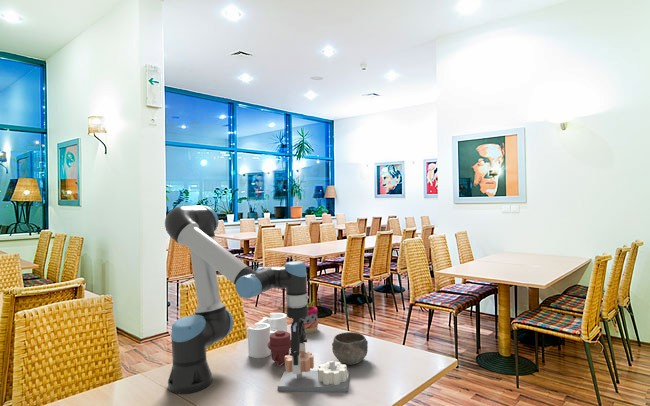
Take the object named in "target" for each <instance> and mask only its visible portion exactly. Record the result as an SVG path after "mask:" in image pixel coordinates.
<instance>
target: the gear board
mask: <svg viewBox="0 0 650 406" xmlns="http://www.w3.org/2000/svg"><path fill="white" fill-rule="evenodd" d="M328 362H329V368H330V369H331V370H333V369H335V362H336V361H335V360H330V361H328ZM349 378H350V371H349V370H347V380H346V381H345V382H341V383H340V384H339V385H334V384H329V385H325V384H323V381H322V382H319V380H318V370H311V369H310V371H309V372H301V374H293V372H287V371H286V369H285V370H284V372H283V374H282V376H281V379H280V380H279V382H278V385H277V391H278V392H279V391H280V392H281V391H284V392H285V391H286V392H326V393H327V392H328V393H329V392H331V393H332V392H333V393H348V388H349V381H350V380H349Z"/></svg>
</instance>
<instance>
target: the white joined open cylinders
mask: <svg viewBox="0 0 650 406" xmlns="http://www.w3.org/2000/svg"><path fill="white" fill-rule="evenodd" d="M287 318H288V317H287V313H285V312H269V317H265V316H264V317H262V319H261V320H259V321H257V322H255V323H254V328H253V327H251V326H250V327H247V349H248V350H247V352H248V353H247V354H248V357H251V358H253V359H263V358H267V357H270V356H271V355H272V350H270V349H269V348H268V342H269V341H270V334H272V333H274V332H276V331H284V332H288V324H287V320H288V319H287Z"/></svg>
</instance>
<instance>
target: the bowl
mask: <svg viewBox="0 0 650 406" xmlns="http://www.w3.org/2000/svg"><path fill="white" fill-rule="evenodd" d="M368 344H369V342H368V340H367V338H366V337H365V335H364V334H362V333H359V332H352V331H351V332H350V331H349V332H347V331H346V332H341V333H338V334H336V335H335V336H334V337H333V340H332V343H331V346H332V347H331V348H332V353H333V355H334V357H335V358H336V359H337V360H338V362H341V364H342V365H344V364H345V365H346V366H349V365H351V366H352V365H357V364H359V363H361V362H362V361H363V360H364V359H365V358H366V356H367V354H368V351H369V350H368V349H369V348H368V346H369V345H368Z"/></svg>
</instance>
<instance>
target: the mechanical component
mask: <svg viewBox="0 0 650 406" xmlns="http://www.w3.org/2000/svg"><path fill="white" fill-rule="evenodd" d="M268 348H269V349H270V350H271V360H272V362H275V363H276V365H277V366H278V367H279V366H281V365H283V364H285V356H286V355H289V353H290V350H291V332H288V331H287V332H284V331H276V332H274V333H272V334H270V341H269V342H268Z"/></svg>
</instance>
